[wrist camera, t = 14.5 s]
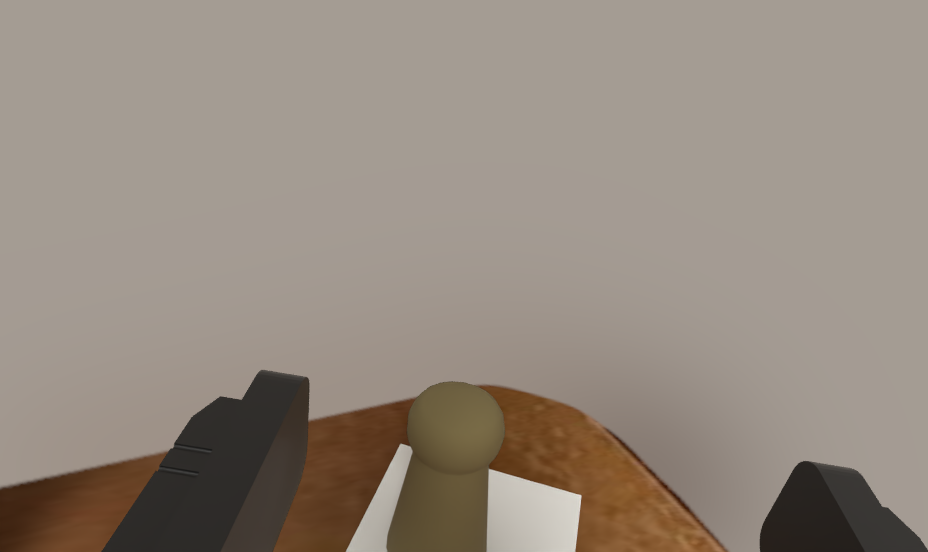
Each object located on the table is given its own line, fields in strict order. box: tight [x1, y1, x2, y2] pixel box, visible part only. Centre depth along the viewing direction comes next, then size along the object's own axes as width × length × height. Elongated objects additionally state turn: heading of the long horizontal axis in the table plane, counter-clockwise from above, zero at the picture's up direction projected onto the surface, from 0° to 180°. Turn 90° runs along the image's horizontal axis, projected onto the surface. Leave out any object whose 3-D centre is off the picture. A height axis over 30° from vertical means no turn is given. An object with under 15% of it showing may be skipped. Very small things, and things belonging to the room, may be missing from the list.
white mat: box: [346, 444, 581, 552], centre depth 38 cm, size 13×13×1 cm
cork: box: [386, 382, 505, 552], centre depth 35 cm, size 6×6×11 cm
